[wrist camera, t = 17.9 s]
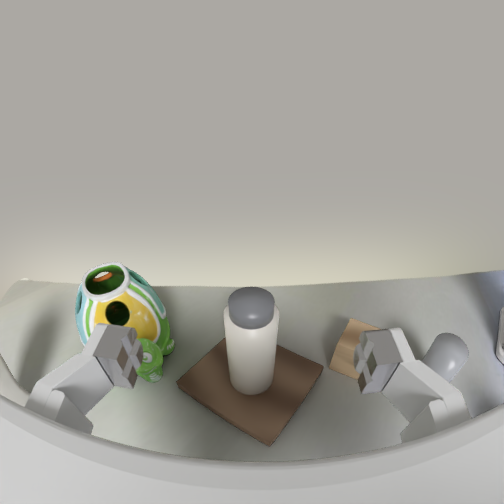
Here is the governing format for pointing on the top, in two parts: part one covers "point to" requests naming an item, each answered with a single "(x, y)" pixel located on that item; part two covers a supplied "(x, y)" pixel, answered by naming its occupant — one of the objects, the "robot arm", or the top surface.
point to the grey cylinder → (446, 355)
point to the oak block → (348, 348)
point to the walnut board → (252, 406)
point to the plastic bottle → (251, 339)
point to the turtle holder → (125, 312)
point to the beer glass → (11, 385)
